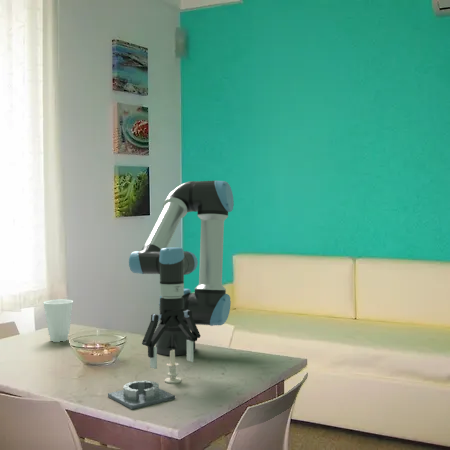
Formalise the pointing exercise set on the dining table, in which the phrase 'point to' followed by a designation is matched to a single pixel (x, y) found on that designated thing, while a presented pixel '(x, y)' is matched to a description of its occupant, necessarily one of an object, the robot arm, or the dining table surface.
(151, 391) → the ring stand
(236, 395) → the dining table surface
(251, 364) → the dining table surface
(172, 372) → the candle
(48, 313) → the cup
